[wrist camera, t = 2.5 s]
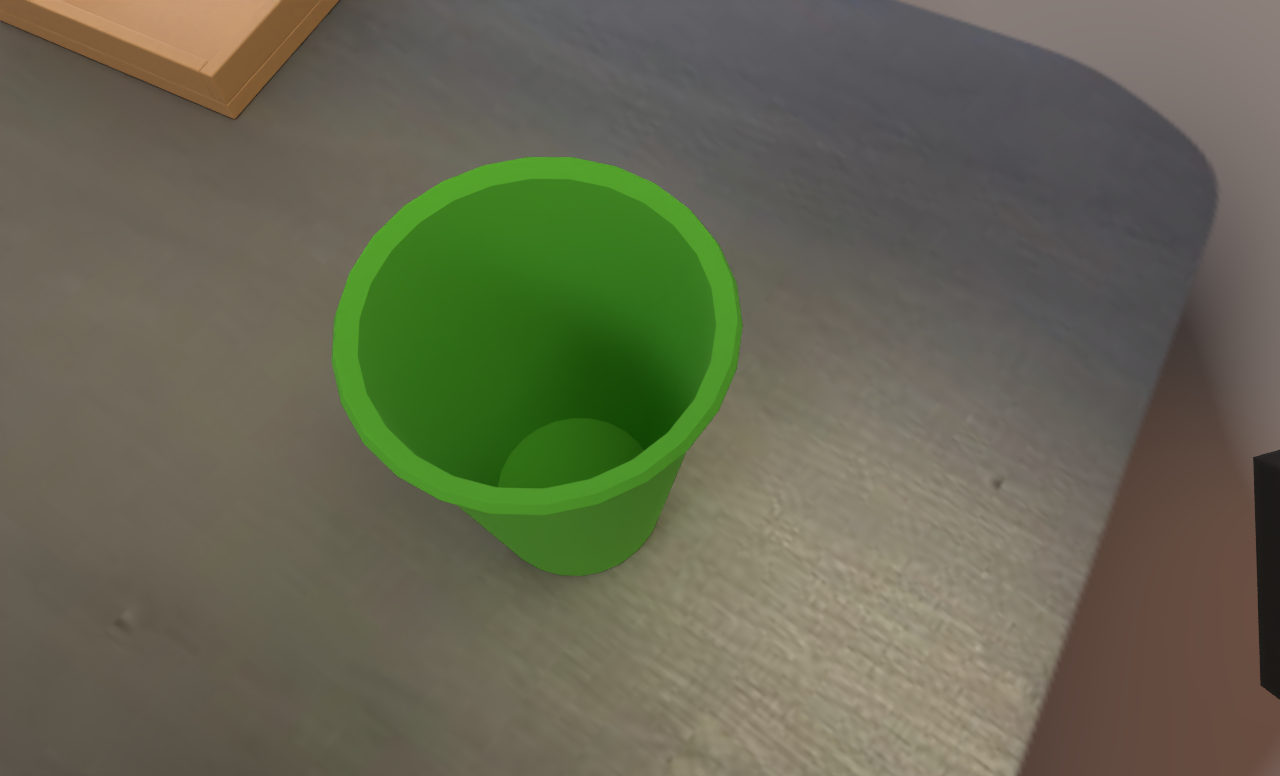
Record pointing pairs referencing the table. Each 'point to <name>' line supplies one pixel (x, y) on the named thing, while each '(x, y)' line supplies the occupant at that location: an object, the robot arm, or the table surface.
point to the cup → (540, 352)
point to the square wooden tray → (179, 40)
